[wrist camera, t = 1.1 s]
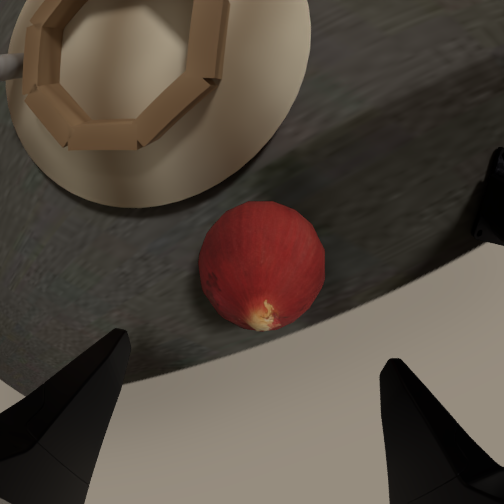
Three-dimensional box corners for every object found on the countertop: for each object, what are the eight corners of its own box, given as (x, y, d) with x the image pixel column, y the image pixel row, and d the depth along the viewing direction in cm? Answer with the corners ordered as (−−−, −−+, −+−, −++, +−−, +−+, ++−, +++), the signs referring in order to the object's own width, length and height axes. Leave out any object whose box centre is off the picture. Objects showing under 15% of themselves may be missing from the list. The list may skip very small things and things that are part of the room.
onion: (267, 286, 20) (264, 392, 13) (193, 233, 18) (150, 330, 11) (334, 225, 17) (371, 323, 10) (257, 158, 15) (246, 225, 9)
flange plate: (320, -80, 8) (333, -116, 4) (283, 215, 17) (286, 254, 13) (36, -42, 8) (-3, -52, 4) (25, 193, 17) (-13, 219, 13)
